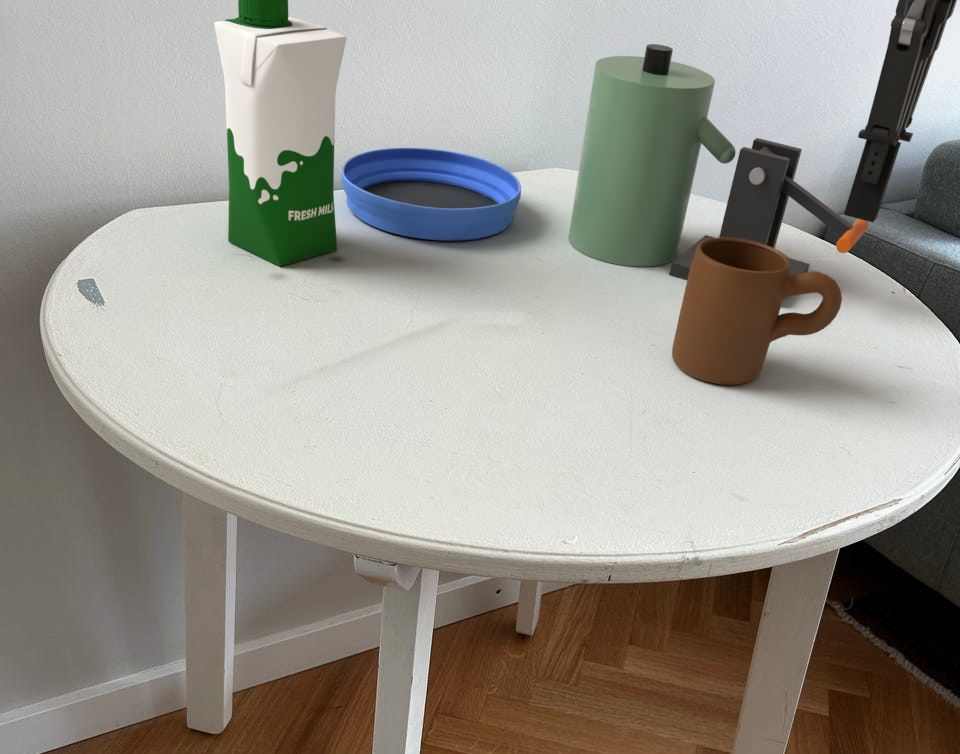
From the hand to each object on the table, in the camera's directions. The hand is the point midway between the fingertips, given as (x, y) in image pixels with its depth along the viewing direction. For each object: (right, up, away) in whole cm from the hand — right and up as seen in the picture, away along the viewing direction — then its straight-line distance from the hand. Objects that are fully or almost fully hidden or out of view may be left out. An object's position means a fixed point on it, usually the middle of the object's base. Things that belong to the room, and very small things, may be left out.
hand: (860, 216), depth 101 cm
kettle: (-18, +1, +11) cm, 21 cm away
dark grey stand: (-9, -3, +8) cm, 12 cm away
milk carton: (-52, -2, +2) cm, 52 cm away
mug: (-13, -16, -9) cm, 23 cm away
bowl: (-40, +5, +13) cm, 42 cm away
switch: (-5, +1, +2) cm, 6 cm away
